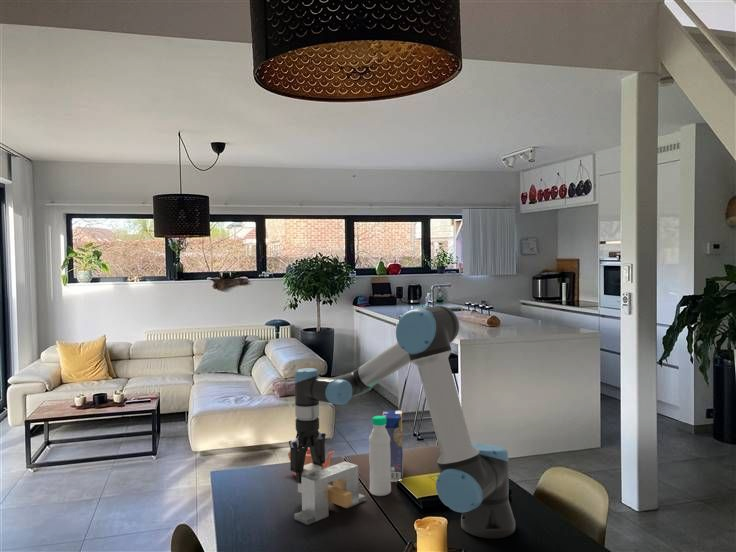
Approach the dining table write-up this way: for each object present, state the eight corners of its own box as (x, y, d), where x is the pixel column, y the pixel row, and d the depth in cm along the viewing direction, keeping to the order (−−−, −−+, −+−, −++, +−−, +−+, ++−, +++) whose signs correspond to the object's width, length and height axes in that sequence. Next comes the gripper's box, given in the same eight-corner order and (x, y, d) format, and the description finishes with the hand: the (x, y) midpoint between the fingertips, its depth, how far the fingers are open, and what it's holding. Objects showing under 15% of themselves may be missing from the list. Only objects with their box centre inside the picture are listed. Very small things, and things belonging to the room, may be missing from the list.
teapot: (295, 466, 224) (294, 441, 224) (340, 470, 219) (340, 444, 218) (281, 478, 212) (280, 451, 212) (329, 482, 207) (328, 455, 207)
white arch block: (365, 500, 191) (364, 463, 191) (307, 525, 174) (306, 484, 173) (352, 495, 195) (351, 458, 195) (294, 519, 178) (293, 479, 178)
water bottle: (389, 497, 193) (388, 420, 193) (367, 496, 195) (366, 419, 194) (392, 489, 200) (391, 414, 199) (371, 487, 201) (370, 413, 201)
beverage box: (403, 470, 217) (402, 410, 217) (402, 482, 206) (401, 418, 206) (384, 470, 218) (383, 410, 217) (382, 481, 207) (381, 418, 206)
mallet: (354, 503, 181) (353, 477, 181) (342, 508, 177) (341, 481, 177) (310, 487, 195) (309, 462, 195) (298, 491, 191) (297, 466, 191)
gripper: (320, 410, 200) (322, 479, 201) (277, 421, 187) (278, 495, 188) (336, 413, 195) (337, 485, 196) (292, 425, 182) (293, 501, 183)
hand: (308, 489), depth 192 cm, fingers closed on mallet, 5 cm apart
